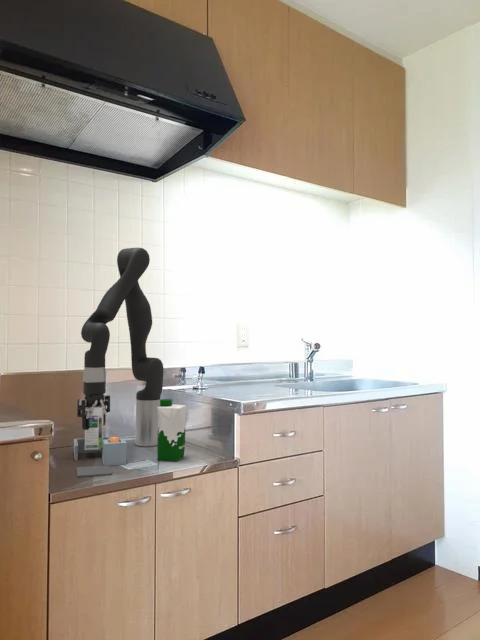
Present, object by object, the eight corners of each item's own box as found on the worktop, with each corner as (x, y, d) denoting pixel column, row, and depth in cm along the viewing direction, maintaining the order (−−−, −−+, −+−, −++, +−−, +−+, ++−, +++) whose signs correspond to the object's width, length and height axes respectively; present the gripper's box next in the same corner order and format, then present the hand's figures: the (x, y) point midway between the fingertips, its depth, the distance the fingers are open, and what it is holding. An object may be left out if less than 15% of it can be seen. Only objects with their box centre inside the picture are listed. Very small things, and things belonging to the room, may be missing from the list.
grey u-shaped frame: (109, 450, 188) (110, 437, 188) (113, 458, 177) (113, 443, 178) (73, 453, 184) (73, 438, 184) (74, 460, 173) (74, 445, 173)
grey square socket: (123, 459, 176) (124, 438, 177) (126, 464, 170) (126, 442, 170) (102, 460, 174) (102, 439, 174) (104, 465, 167) (104, 443, 168)
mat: (109, 466, 167) (109, 465, 167) (112, 474, 157) (112, 473, 157) (76, 468, 163) (76, 467, 163) (77, 477, 154) (77, 475, 154)
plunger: (118, 454, 174) (118, 436, 174) (119, 456, 171) (119, 438, 171) (109, 454, 173) (109, 436, 173) (109, 457, 170) (110, 438, 170)
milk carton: (162, 455, 183) (163, 397, 184) (187, 456, 182) (188, 398, 182) (153, 461, 175) (154, 401, 175) (179, 462, 173) (180, 402, 173)
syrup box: (84, 450, 177) (84, 407, 177) (86, 446, 183) (87, 405, 183) (101, 450, 178) (101, 407, 178) (103, 446, 184) (103, 404, 184)
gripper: (100, 377, 189) (99, 423, 189) (71, 381, 176) (70, 430, 176) (116, 379, 186) (116, 425, 186) (88, 382, 173) (87, 432, 173)
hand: (94, 427), depth 181 cm, fingers closed on syrup box, 7 cm apart
